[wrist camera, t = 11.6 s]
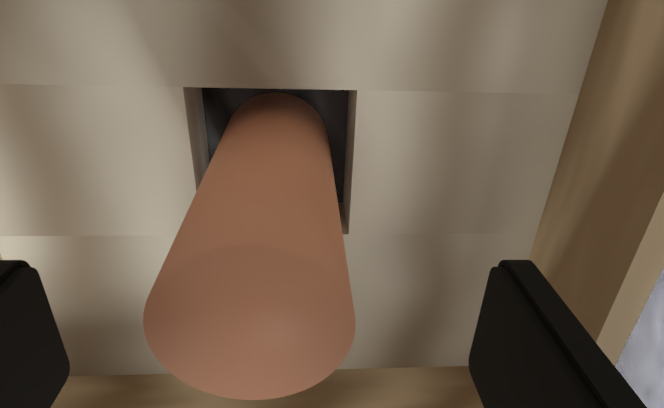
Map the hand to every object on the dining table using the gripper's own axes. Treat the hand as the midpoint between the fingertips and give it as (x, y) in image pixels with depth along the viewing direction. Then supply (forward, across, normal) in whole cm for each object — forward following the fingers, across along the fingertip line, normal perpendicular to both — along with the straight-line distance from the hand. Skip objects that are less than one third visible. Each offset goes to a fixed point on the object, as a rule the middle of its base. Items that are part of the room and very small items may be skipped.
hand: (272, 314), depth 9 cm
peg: (+9, 0, -1) cm, 9 cm away
